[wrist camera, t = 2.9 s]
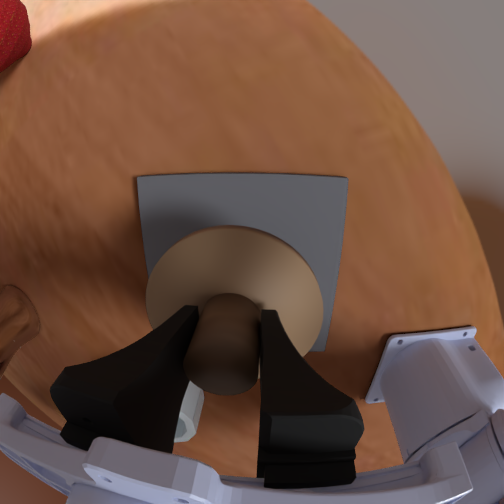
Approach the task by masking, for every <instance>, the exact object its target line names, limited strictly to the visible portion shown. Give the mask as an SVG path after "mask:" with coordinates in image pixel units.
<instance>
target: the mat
mask: <svg viewBox="0 0 504 504" xmlns="http://www.w3.org/2000/svg"><path fill="white" fill-rule="evenodd" d="M137 185H138V198H139V209H140V219H141V228H142V237H143V245H144V252H145V259H146V266H147V272H148V279H149V277H150V274H151V272H152V271H153V269H154V267H155V265H156V264H157V262H158V261H159V260H160V258H161V257H162V256H163V255H164V254H165V253H166V251H167V250H168V249H169V248H170V247H171V246H173V245H174V244H175V243H176V242H177V241H179V240H180V239H182V238H183V237H185V236H187V235H189V234H191V233H193V232H195V231H198V230H201V229H204V228H208V227H213V226H220V225H239V226H247V227H252V228H256V229H259V230H262V231H265V232H268V233H270V234H272V235H274V236H276V237H278V238H280V239H282V240H283V241H285V242H286V243H288V244H289V245H291V246H292V247H293V248H294V249H295V250H296V251H298V252H299V253H300V254H301V255H302V257H303V258H304V259H305V260H306V261H307V263H308V264H309V266H310V267H311V269H312V271H313V272H314V275H315V277H316V279H317V282H318V285H319V288H320V292H321V296H322V300H323V309H324V311H323V322H322V326H321V330H320V332H319V335H318V337H317V339H316V341H315V343H314V344H313V346H312V347H311V349H310V350H309V351H308V352H311V351H325V347H326V342H327V337H328V332H329V327H330V321H331V316H332V310H333V305H334V299H335V292H336V286H337V279H338V273H339V266H340V258H341V250H342V242H343V233H344V224H345V214H346V203H347V191H348V178H347V177H339V176H325V175H308V174H286V173H184V174H162V175H145V176H139V177H137Z"/></svg>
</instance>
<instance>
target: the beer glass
mask: <svg viewBox="0 0 504 504" xmlns="http://www.w3.org/2000/svg"><path fill="white" fill-rule="evenodd" d="M39 332H40V321H39V317H38V314H37V312H36V310H35V308H34V306H33V305H32V303H31V302H30V300H29V299H28V298H27V296H26V295H25V294H24V293H23V292H22V291H21V290H20V289H18V288H17V287H15V286H12V285H8V286H6V287H5V288H4V289H3V290H2V291H1V292H0V379H1V377H2V375H3V373H4V372H5V370H6V368H7V366H8V364H9V362H10V361H11V359H12V357H13V356H14V355H15V353H16V352H17V351H18V350H19V349H20V348H21V347H22V346H23V345H24V344H26V343H27V342H29V341H30V340H32V339H33V338H35V337H36V336H37V335H38V334H39Z"/></svg>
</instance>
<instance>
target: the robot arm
mask: <svg viewBox="0 0 504 504" xmlns="http://www.w3.org/2000/svg"><path fill="white" fill-rule="evenodd" d="M198 320H199V311H198V306H193V305H184V306H183V307H182V308H180V309H179V310H178V311H177V312H176V313H174V314H173V315H172V316H171V317H170V318H168V319H167V320H166V321H165V322H163V323H162V324H161V325H160V326H158V327H157V328H156V329H154V330H153V331H151V332H150V333H149V334H147V335H146V336H144V337H143V338H141V339H140V340H138V341H136V342H135V343H133V344H131V345H129V346H127V347H125V348H123V349H121V350H119V351H117V352H115V353H112V354H110V355H108V356H105V357H102V358H100V359H97V360H94V361H90V362H87V363H83V364H78V365H74V366H69V367H65V368H64V370H63V371H62V372H61V374H60V375H59V376H58V378H57V379H56V381H55V382H54V383H53V385H52V386H51V388H50V393H51V397H52V399H53V401H54V403H55V404H56V406H57V407H58V409H59V410H60V412H61V413H62V415H63V416H64V418H65V419H66V420H67V422H66V424H65V426H64V427H63V429H62V431H59V430H57V429H55V428H53V427H51V426H49V425H47V424H45V423H43V422H41V421H39V420H37V419H35V418H34V417H32V416H30V415H28V414H27V413H26V411H25V410H24V408H23V407H22V406H21V405H20V403H18V402H17V401H16V400H15V399H13V398H11V397H9V396H8V395H6V394H4V393H2V394H1V395H0V450H1V451H2V452H3V453H4V454H5V455H6V456H7V457H9V458H10V459H11V460H13V461H14V462H15V463H17V464H18V465H20V466H21V467H22V468H24V469H25V470H27V471H28V472H30V473H31V474H33V475H34V476H35V477H37V478H39V479H40V480H42V481H43V482H45V483H46V484H48V485H49V486H51V487H53V488H54V489H56V490H58V491H59V492H61V493H63V494H65V495H66V496H68V499H67V502H66V504H504V379H503V378H502V376H501V374H500V373H499V371H498V370H497V368H496V367H495V366H494V364H493V363H492V361H491V360H490V359H489V357H488V356H487V355H486V353H485V352H484V351H483V349H482V348H481V347H480V345H479V344H478V343H477V341H476V340H475V339H474V336H475V333H476V331H477V330H476V328H475V327H474V326H471V327H464V328H456V329H449V330H440V331H431V332H421V333H410V334H398V335H392V336H390V337H389V338H388V340H387V343H386V346H385V349H384V352H383V355H382V357H381V360H380V363H379V365H378V368H377V371H376V373H375V376H374V378H373V381H372V383H371V386H370V388H369V391H368V393H367V395H366V398H365V401H366V403H369V404H370V403H378V402H385V403H386V406H387V409H388V412H389V415H390V418H391V422H392V425H393V428H394V431H395V434H396V438H397V441H398V444H399V448H400V451H401V455H402V458H403V462H404V464H402V465H398V466H393V467H389V468H384V469H379V470H373V471H367V472H361V473H356V471H355V465H354V460H355V458H356V454H355V446H356V445H357V443H358V441H359V440H360V438H361V436H362V434H363V431H364V424H363V419H362V416H361V414H360V411H359V409H358V407H357V405H356V403H355V401H354V399H352V398H350V397H349V396H347V395H345V394H344V393H342V392H340V391H339V390H337V389H336V388H334V387H333V386H332V385H330V384H329V383H328V382H326V381H325V380H324V379H323V378H322V377H321V376H320V375H319V374H317V373H316V372H315V371H314V370H313V369H312V368H311V366H310V365H309V364H308V363H307V362H306V361H305V360H304V359H303V357H302V356H301V355H300V353H299V352H298V351H297V349H296V348H295V346H294V345H293V343H292V342H291V340H290V338H289V337H288V335H287V333H286V331H285V329H284V327H283V325H282V323H281V321H280V318H279V315H278V312H277V311H276V310H270V309H262V310H261V325H260V358H259V367H260V387H261V408H260V427H259V446H258V460H257V478H249V477H235V476H225V475H218V474H217V473H216V471H215V470H214V469H213V468H212V467H211V466H209V465H207V464H205V463H203V462H201V461H199V460H196V459H192V458H188V457H184V456H180V455H175V454H172V451H173V445H174V439H175V434H176V429H177V424H178V419H179V414H180V410H181V406H182V402H183V399H184V395H185V393H186V390H187V387H188V385H189V382H190V380H189V379H188V377H187V376H186V374H185V372H184V368H183V361H184V358H185V355H186V352H187V350H188V347H189V344H190V342H191V339H192V336H193V334H194V331H195V328H196V326H197V323H198ZM399 340H400V341H399Z"/></svg>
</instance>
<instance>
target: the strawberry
mask: <svg viewBox="0 0 504 504" xmlns="http://www.w3.org/2000/svg"><path fill="white" fill-rule="evenodd" d="M31 45H32V40H31V37H30V24H29V19H28V15H27V10H26V7H25V6H24V4H23V3H22V2H21V1H20V0H0V73H1V72H2V71H3V70H5V69H6V68H8V67H9V66H10V65H11V64H13V63H14V62H15V61H16V60H18V59H19V58H21V57H23V56H24V55H25V54H26V53H27V52H28V51H29V50H30V48H31Z"/></svg>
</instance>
